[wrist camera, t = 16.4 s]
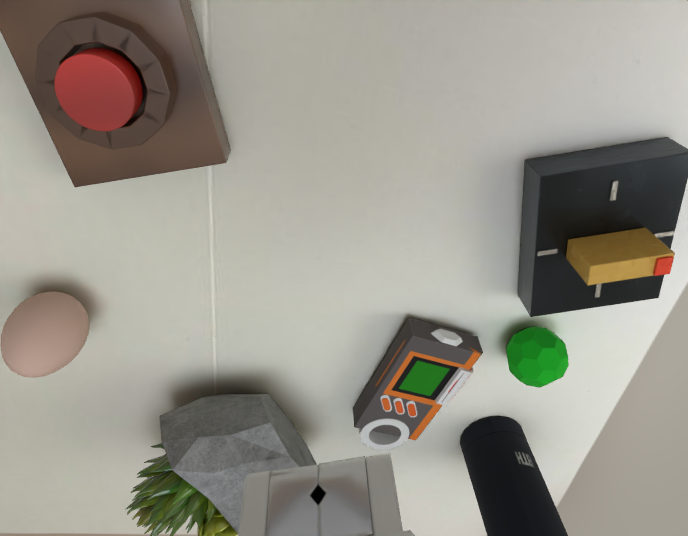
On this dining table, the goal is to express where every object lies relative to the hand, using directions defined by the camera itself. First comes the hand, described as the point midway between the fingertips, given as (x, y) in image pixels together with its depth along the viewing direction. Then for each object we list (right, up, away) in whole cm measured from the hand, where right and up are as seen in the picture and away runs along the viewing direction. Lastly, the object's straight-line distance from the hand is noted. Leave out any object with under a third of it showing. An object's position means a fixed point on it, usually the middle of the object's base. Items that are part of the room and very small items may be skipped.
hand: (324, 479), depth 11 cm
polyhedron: (+17, -2, +35) cm, 39 cm away
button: (-13, +14, +18) cm, 26 cm away
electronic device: (+6, -6, +37) cm, 38 cm away
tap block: (+19, +8, +29) cm, 35 cm away
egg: (-22, +2, +30) cm, 37 cm away
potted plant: (-10, -10, +39) cm, 41 cm away
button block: (-13, +17, +21) cm, 29 cm away
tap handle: (+19, +6, +26) cm, 33 cm away
